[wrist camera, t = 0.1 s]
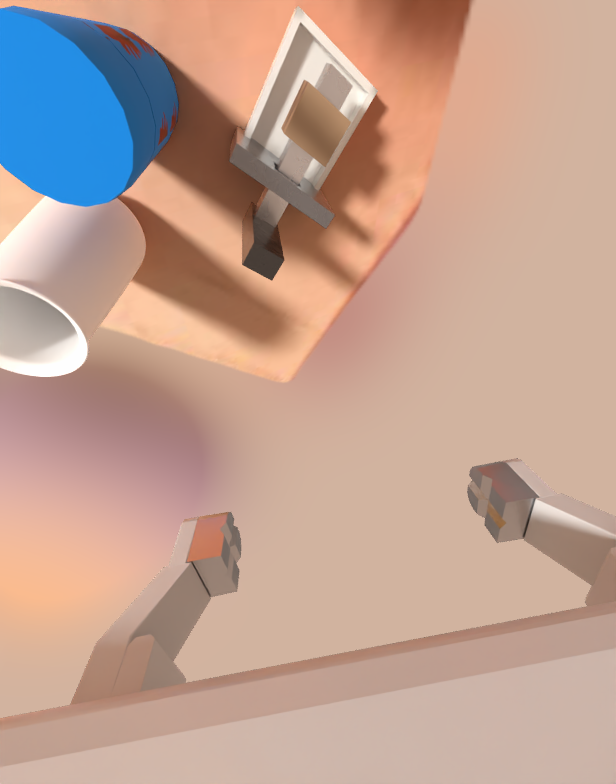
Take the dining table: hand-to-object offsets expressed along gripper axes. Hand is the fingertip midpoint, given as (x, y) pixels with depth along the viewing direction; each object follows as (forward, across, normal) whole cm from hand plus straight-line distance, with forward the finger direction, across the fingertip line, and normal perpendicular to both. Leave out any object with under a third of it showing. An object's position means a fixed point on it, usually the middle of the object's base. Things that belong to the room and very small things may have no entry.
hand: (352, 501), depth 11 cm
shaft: (+44, -3, -15) cm, 47 cm away
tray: (+48, -6, -21) cm, 52 cm away
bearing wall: (+50, -1, -15) cm, 52 cm away
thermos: (+47, +15, -25) cm, 55 cm away
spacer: (+41, -6, -18) cm, 45 cm away
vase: (+51, +27, -12) cm, 59 cm away
